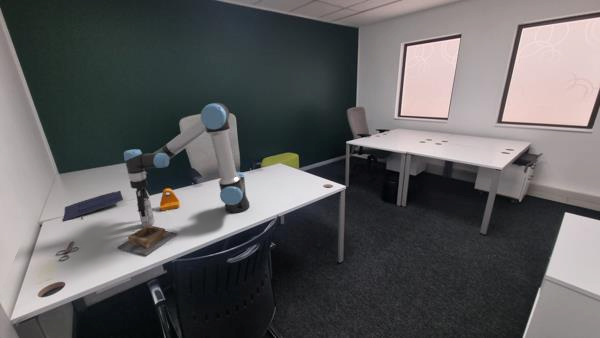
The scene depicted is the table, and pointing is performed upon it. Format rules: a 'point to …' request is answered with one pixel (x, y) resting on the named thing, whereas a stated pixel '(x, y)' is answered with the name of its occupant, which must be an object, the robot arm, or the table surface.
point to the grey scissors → (67, 251)
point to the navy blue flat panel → (92, 204)
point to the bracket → (169, 200)
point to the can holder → (147, 240)
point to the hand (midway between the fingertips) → (146, 215)
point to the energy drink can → (148, 213)
